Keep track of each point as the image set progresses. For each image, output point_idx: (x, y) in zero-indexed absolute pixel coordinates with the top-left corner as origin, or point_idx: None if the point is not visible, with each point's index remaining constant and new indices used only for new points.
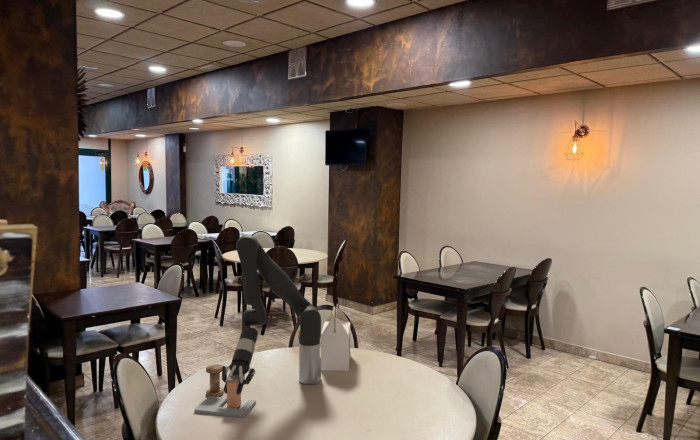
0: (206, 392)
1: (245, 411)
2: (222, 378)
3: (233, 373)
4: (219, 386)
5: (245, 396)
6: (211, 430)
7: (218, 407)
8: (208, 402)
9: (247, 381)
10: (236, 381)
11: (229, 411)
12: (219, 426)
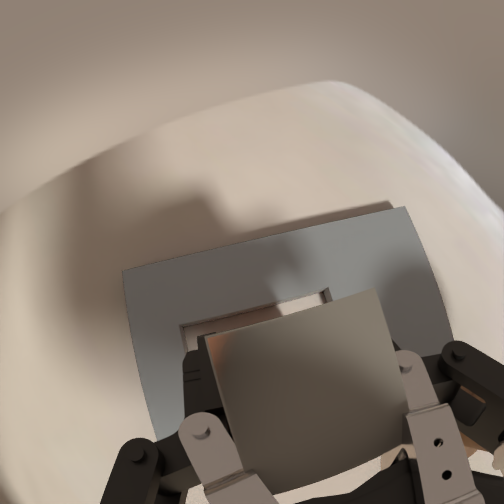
0: None
1: (131, 306)
2: (465, 348)
3: (406, 475)
4: (467, 438)
5: (293, 499)
6: (207, 131)
7: (322, 278)
8: (414, 301)
9: (125, 456)
10: (208, 336)
11: (222, 265)
12: (195, 162)
